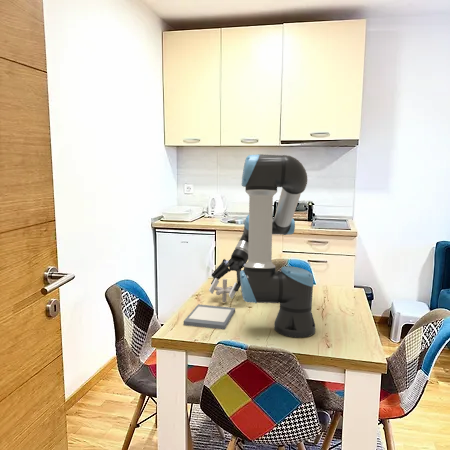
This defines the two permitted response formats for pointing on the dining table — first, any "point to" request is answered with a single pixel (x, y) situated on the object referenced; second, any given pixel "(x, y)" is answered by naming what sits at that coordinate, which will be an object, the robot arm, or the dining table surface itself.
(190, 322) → the board
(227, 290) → the pipe connector
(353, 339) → the dining table surface
